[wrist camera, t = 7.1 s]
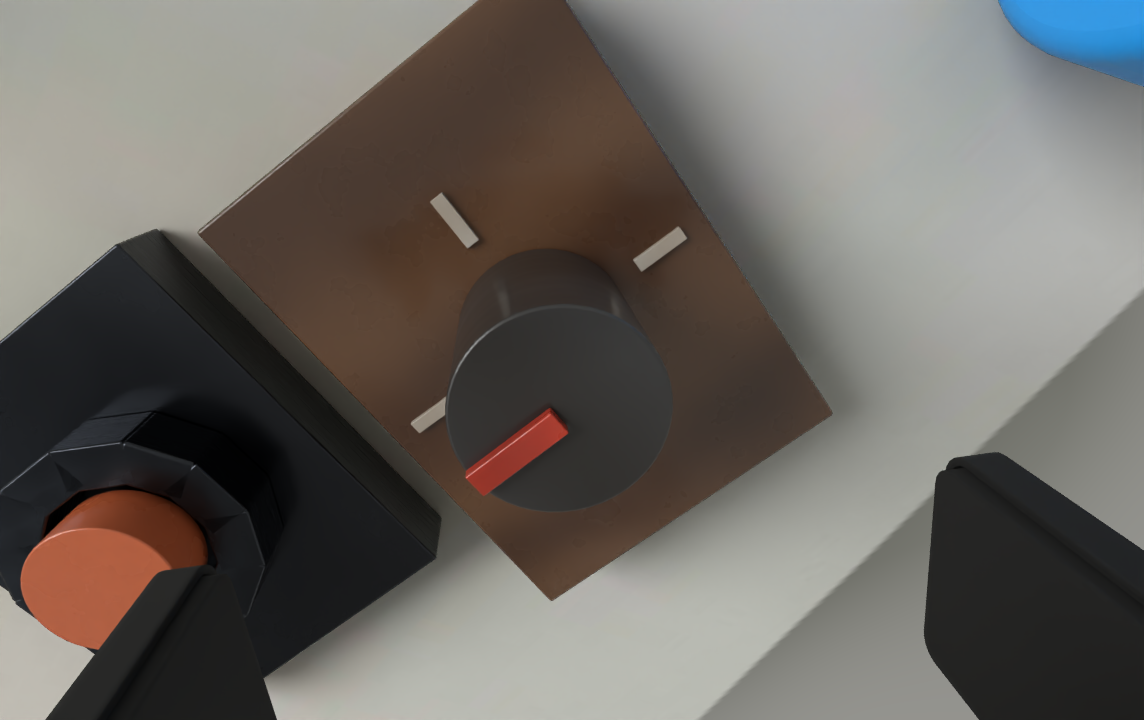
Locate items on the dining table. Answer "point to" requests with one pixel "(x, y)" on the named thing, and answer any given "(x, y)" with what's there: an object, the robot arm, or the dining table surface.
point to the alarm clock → (1085, 32)
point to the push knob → (106, 562)
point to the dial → (554, 385)
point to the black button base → (200, 446)
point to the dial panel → (498, 230)
